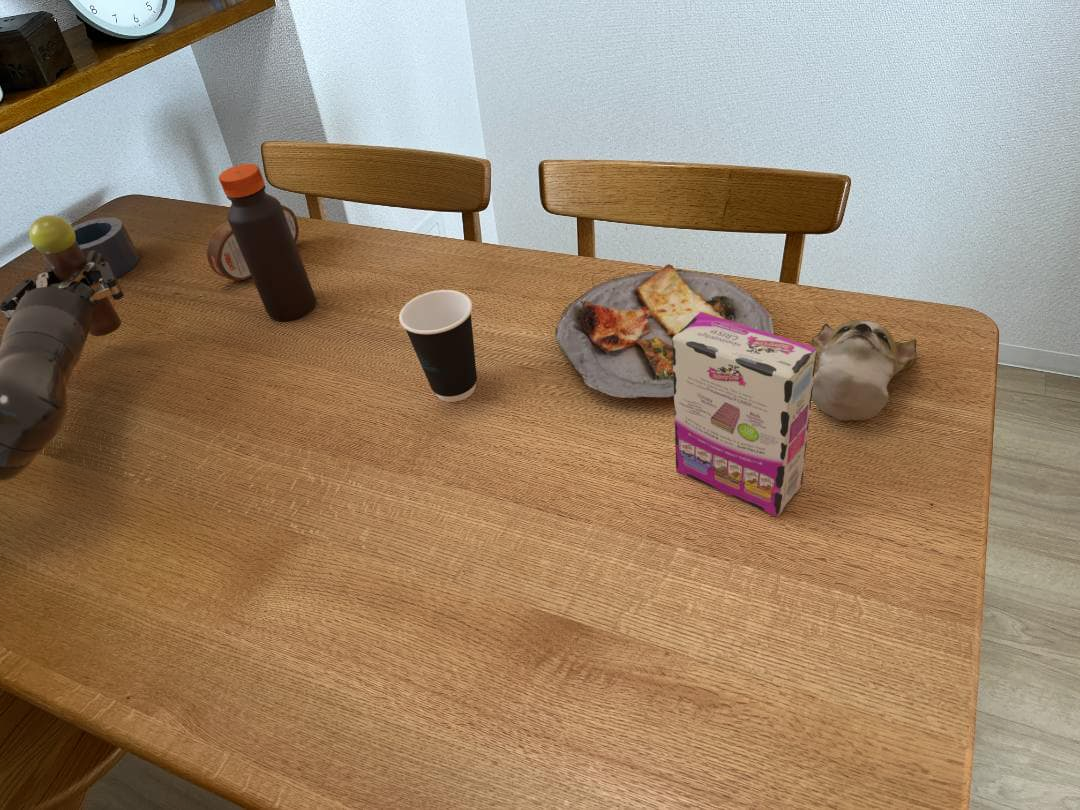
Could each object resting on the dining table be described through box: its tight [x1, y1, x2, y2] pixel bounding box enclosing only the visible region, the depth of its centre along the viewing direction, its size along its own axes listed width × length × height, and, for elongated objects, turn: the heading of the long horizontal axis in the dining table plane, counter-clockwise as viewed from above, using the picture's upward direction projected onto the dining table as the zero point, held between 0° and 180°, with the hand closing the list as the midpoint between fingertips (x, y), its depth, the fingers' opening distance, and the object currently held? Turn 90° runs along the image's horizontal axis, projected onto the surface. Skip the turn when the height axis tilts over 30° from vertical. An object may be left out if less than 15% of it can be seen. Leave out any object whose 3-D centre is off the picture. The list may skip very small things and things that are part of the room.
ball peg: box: [28, 214, 122, 337], centre depth 101 cm, size 5×5×16 cm
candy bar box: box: [672, 312, 817, 518], centre depth 72 cm, size 11×5×16 cm, turn 50°
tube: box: [72, 217, 140, 279], centre depth 126 cm, size 10×10×6 cm
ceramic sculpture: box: [810, 319, 918, 422], centre depth 82 cm, size 11×9×15 cm
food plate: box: [554, 263, 776, 399], centre depth 94 cm, size 25×23×4 cm
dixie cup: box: [398, 289, 478, 403], centre depth 90 cm, size 8×8×11 cm
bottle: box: [218, 163, 317, 322], centre depth 105 cm, size 7×7×20 cm
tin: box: [206, 204, 300, 282], centre depth 119 cm, size 15×3×8 cm, turn 144°
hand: (78, 261), depth 103 cm, fingers closed on ball peg, 4 cm apart
